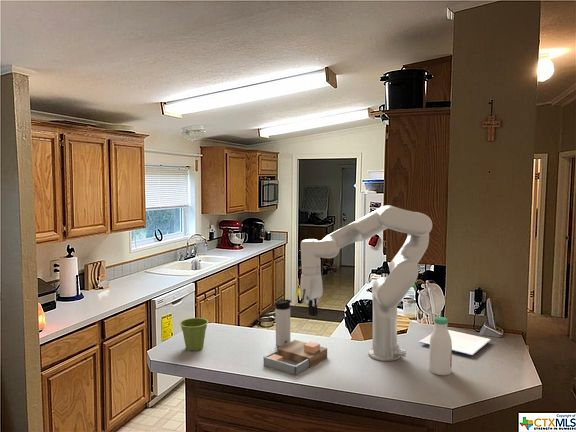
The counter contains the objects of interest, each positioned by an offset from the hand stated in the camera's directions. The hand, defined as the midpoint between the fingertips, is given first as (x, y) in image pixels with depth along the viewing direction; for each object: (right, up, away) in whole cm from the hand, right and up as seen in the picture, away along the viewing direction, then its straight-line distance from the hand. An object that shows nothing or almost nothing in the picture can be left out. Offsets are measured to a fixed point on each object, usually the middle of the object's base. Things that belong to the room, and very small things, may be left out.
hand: (313, 315), depth 179 cm
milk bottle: (+46, -17, -16) cm, 51 cm away
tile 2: (-1, -13, -5) cm, 14 cm away
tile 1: (-15, -14, -9) cm, 23 cm away
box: (-11, -17, -11) cm, 23 cm away
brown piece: (-5, -17, -3) cm, 17 cm away
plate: (+61, -15, +11) cm, 64 cm away
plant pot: (-50, -16, +9) cm, 53 cm away
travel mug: (-12, -16, +11) cm, 23 cm away
